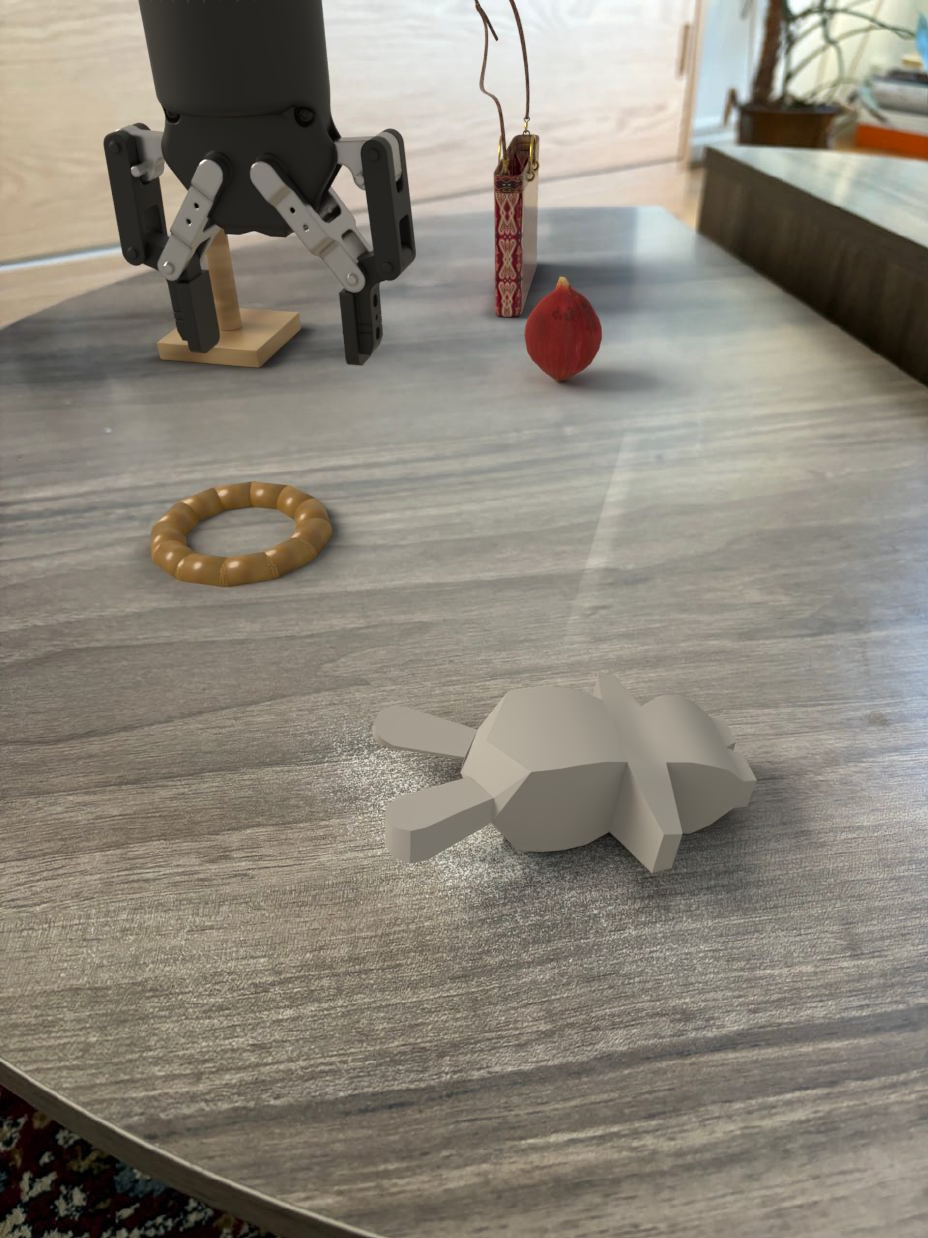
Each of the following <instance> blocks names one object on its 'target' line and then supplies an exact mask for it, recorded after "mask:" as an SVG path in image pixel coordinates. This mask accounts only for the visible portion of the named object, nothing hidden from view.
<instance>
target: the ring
mask: <svg viewBox="0 0 928 1238" xmlns="http://www.w3.org/2000/svg"><path fill="white" fill-rule="evenodd" d="M250 507H251V508H260V509H261V508H262V509H269V510H277V511H279V512H281V513H282V514H284V515H286V516H288V517H289V518H291V519H293V520H294V524H295V528H296V529H295V530H294V532H293V533H292V535H290V537H289V538H288V539H287V540H284V541H282V542H280V543H278V544H276V545H274V546H272V547H270V548H268V549H265V550H264V551H259V552H254V553H253V552H252V553H247V554H242V555H236V556H234V555H233V556H228V557H226V556H218V555H213V554H204V553H198V552H196V551H195V550H194V549H191V548H190V547H189V546H188V542H187V536H188V535H189V534H190V533H191V531H193V529H194V528H195V527H196V526H197V525H198V524H199V523H200V522H202V521H204V520H205V519H208V518H210V517H213V516H215V515H217V514H220V513H223V512H224V511H230V510H237V509H243V508H250ZM332 535H333V527H332V524H331V521H330V518H329V515H328V512H327V509H326V506H325V505H324V503H323V502H322V501H321V500H319V499H318V498H316V497H314V496H313V495H311V494H308V493H307V492H305V491H303V490H301V489H300V488H297V487H296V486H293V485H291V484H282V483H272V482H265V481H257V480H256V481H251V480H250V481H244V482H239V483H237V482H236V483H232V484H231V483H230V484H223V485H217V486H211V487H210V488H207V489H205V490H203V491H200V492H198V493H195V494H193V495H190V496H188V497H186V498H184V499H181V500H179V501H177V502H175V503H174V504H173V505H172V506H171V507H170V508H169V509H168V510H167V511H166V512H165V513H164V515H163V516H161V518H159V520H158V521H157V522H155V524H154V525H153V526H152V528H151V530H150V556H151V560H152V563H153V564H154V565H156V566H157V567H159V568H160V569H161V570H163V571H164V572H166V573H167V574H168V575H170V576H171V577H172V578H174V579H175V580H177V581H180V582H185V583H193V584H197V585H199V584H200V585H205V586H211V587H212V586H214V587H221V588H226V587H233V586H240V585H246V584H247V585H248V584H252V583H259V582H264V581H265V582H266V581H270V580H271V581H272V580H275V579H278V578H281V577H282V576H284V575H286V574H288V573H289V572H292V571H294V570H296V569H298V568H299V567H302V566H303V565H306V564H307V563H310V562H311V561H313V560H315V559H316V558H317V557H318V555H319V554H320V553H321V551H322V550H323V548H324V547H325V546H326V544H327V543H328V541H329V540H330V539H331V537H332Z"/></svg>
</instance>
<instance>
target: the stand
mask: <svg viewBox="0 0 928 1238" xmlns="http://www.w3.org/2000/svg"><path fill="white" fill-rule="evenodd" d="M228 235H229V234H225V233H224V229H221V230H220V231H219V232H218V233H217V234H216V236H215V237H214V239H213V241H212V243H211V245H210V247H209V249H208V251H207V253H206V255H205V261H206V265H207V270H209V274H210V280H211V285H212V291H213V297H214V302H215V308H216V313H217V319H218V325H219V330H220V339H219V342H218V344H217V345H215V346H214V347H213V348H212V349H211V350H209V351H208V352H207V353H193V352H191V351H190V350H189V347H188V342H187V341H183V340H182V338H181V337H180V335H179V333H178V331H177V327H175V328H174V329H173V330H172V331H170V332H168V333H167V334H166V335H165V336H163V337H162V338H161V339H159V340H158V341H157V342H156V344H157V350H158V352H159V353H158V354H159V357H160V358H159V359H160V360H162V361H163V360H164V361H175V362H185V363H186V362H189V363H198V364H210V365H221V366H222V365H223V366H231V367H233V366H234V367H244V368H245V367H246V368H254V369H255V368H257V369H260V368H262V366H263V365H264V364H265V363H266V362H267V361H268V360H270V359H271V357H273V356H274V355H275V354H276V353H277V352H278V351H279V350H280V349H282V347H283V346H284V345H285V344H287V343H288V342H289V341H290V340H291V339H292V338H293V337H294V336H295V335H296V334H297V333H298V332H300V331H301V330H302V324H301V315H300V312H299V311H287V310H286V311H285V310H274V309H273V310H271V309H259V308H258V309H257V308H247V307H246V308H244V307H240V304H239V299H238V292H237V286H236V279H235V272H234V267H233V260H232V254H231V248H230V241H229V237H228Z"/></svg>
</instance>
